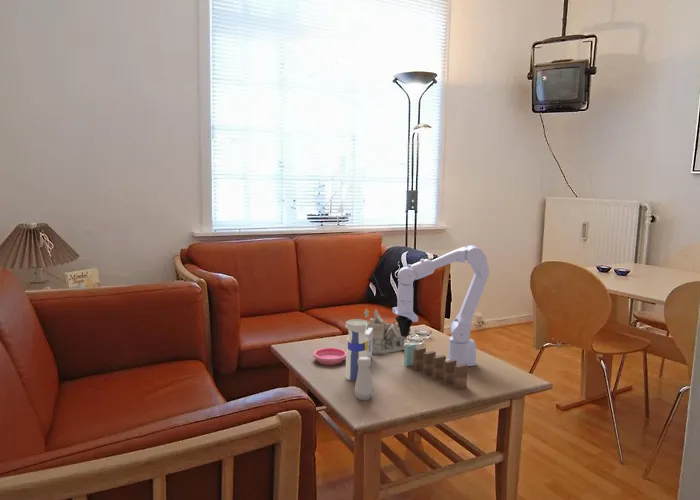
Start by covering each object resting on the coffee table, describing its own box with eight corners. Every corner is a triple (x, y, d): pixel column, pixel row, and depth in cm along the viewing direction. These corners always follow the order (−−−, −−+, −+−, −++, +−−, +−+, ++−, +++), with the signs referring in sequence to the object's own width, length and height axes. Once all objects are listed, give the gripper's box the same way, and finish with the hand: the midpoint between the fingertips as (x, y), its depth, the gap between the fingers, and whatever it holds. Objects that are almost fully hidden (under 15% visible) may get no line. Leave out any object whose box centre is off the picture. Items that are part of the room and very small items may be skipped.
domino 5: (442, 383, 179) (443, 361, 178) (452, 380, 181) (453, 358, 180) (446, 384, 177) (447, 362, 176) (455, 381, 180) (456, 360, 179)
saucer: (351, 364, 196) (352, 356, 195) (319, 368, 191) (319, 360, 191) (339, 353, 207) (340, 345, 207) (309, 357, 203) (309, 349, 202)
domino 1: (404, 365, 195) (404, 345, 194) (413, 362, 198) (413, 343, 196) (406, 366, 194) (407, 346, 193) (416, 364, 196) (416, 344, 195)
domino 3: (422, 373, 187) (423, 352, 186) (431, 371, 189) (432, 350, 188) (425, 375, 186) (426, 354, 185) (435, 372, 188) (435, 351, 187)
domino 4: (432, 378, 183) (433, 357, 182) (441, 375, 185) (442, 354, 184) (435, 379, 182) (436, 358, 180) (445, 377, 184) (445, 356, 183)
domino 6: (453, 388, 175) (454, 366, 174) (463, 385, 177) (464, 363, 176) (457, 389, 173) (458, 367, 172) (466, 386, 176) (467, 364, 175)
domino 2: (413, 369, 191) (413, 349, 190) (422, 366, 193) (422, 346, 192) (416, 370, 190) (416, 350, 189) (425, 368, 192) (425, 348, 191)
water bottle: (371, 373, 187) (372, 303, 183) (366, 382, 179) (367, 309, 175) (348, 370, 189) (348, 302, 185) (342, 380, 181) (342, 308, 177)
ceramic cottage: (358, 351, 210) (362, 313, 208) (372, 340, 225) (375, 305, 223) (396, 358, 204) (400, 320, 202) (408, 347, 219) (411, 312, 217)
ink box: (359, 356, 204) (359, 326, 203) (372, 357, 203) (373, 327, 202) (355, 363, 196) (355, 332, 194) (369, 365, 195) (369, 333, 193)
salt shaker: (353, 394, 169) (354, 354, 167) (371, 393, 170) (372, 354, 168) (355, 401, 164) (356, 361, 162) (374, 401, 164) (374, 360, 162)
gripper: (385, 296, 200) (385, 331, 202) (406, 305, 187) (405, 343, 189) (401, 295, 203) (400, 329, 205) (423, 303, 190) (422, 340, 192)
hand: (404, 335), depth 197 cm, fingers closed
